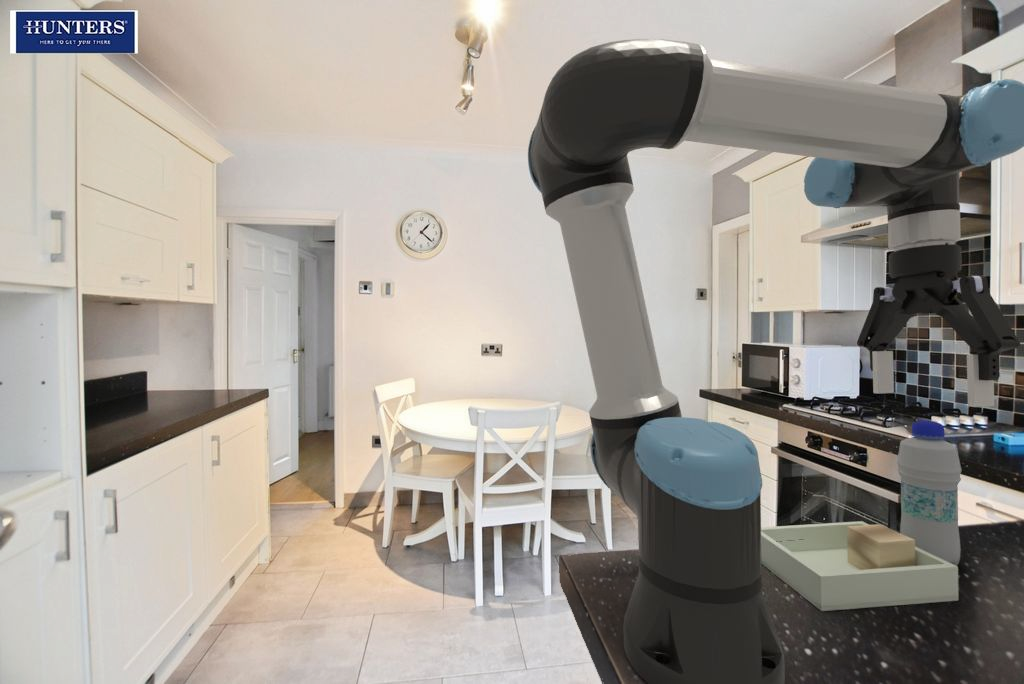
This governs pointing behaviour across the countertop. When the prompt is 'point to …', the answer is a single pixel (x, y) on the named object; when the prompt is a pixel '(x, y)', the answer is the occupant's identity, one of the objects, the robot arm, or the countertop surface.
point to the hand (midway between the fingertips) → (927, 399)
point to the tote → (850, 570)
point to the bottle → (930, 491)
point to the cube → (879, 547)
